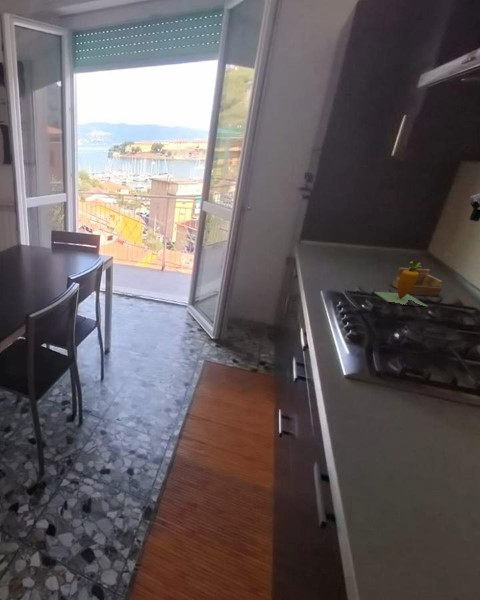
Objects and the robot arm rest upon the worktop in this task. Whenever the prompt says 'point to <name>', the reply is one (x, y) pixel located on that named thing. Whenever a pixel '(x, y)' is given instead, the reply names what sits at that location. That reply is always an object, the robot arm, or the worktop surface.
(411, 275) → the carrot
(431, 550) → the worktop surface
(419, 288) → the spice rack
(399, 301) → the mat
